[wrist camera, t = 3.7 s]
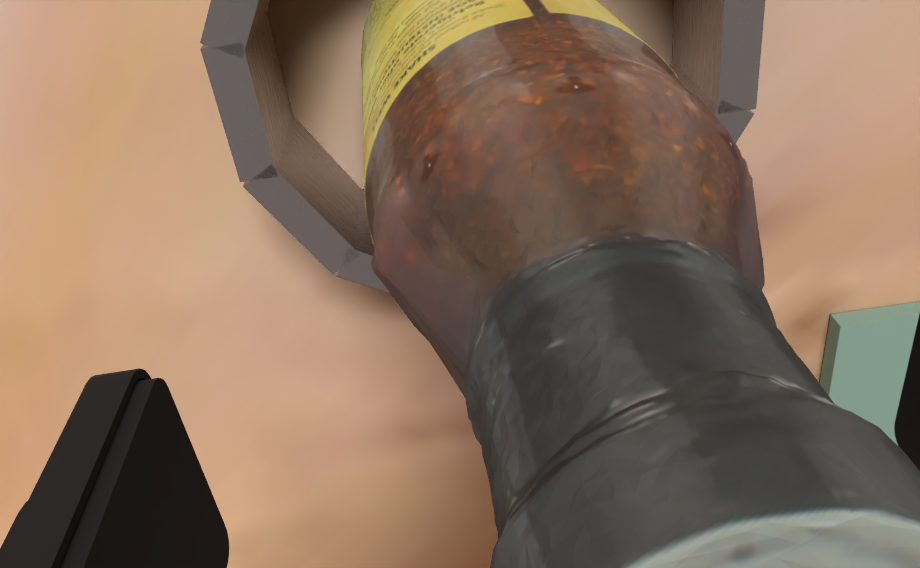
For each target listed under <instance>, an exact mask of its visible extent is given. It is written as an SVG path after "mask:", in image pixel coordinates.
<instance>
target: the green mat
mask: <svg viewBox="0 0 920 568" xmlns="http://www.w3.org/2000/svg"><path fill="white" fill-rule="evenodd" d="M919 314H920V302H914V303H907V304H900V305H893V306H886V307H878V308H871V309H864V310H857V311H850V312H843V313H836V314H830V320H829V326H828V333H827V339H826V345H825V351H824V357H823V364H822V370H821V376H820V382H819V383H820V385H821V386H822V388H823V389H824V390H825V392H826V393H827V394H828V396H829V397H830V398H831V400H832V401H833V402H834V404H835V405H837V406H839V407H841V408H842V409H844V410H848V411H851V412H853V413H854V414H856V415H858V416H860V417H862V418H863V419H865V420H867V421H869V422H870V423H872V424H874V425H876V426H878V427H879V428H881V430H882V431H883V432H884V433H885V434H886V435H887V436H888V437H889V438H890V439H891V440H892V441H894V442H895V443H896V444H897V441H896V437H895V431H894V425H895V419H896V415H897V410H898V406H899V402H900V397H901V393H902V388H903V384H904V380H905V375H906V371H907V367H908V362H909V358H910V353H911V349H912V345H913V340H914V336H915V331H916V327H917V323H918V318H919ZM897 445H898V444H897Z"/></svg>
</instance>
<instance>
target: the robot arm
mask: <svg viewBox="0 0 920 568" xmlns="http://www.w3.org/2000/svg"><path fill="white" fill-rule="evenodd" d="M894 431H895V437H896V441H897V444H898V446H899V447H900V448H901V449H902V450H903V451H904V453H905V454H906V455H907V456H908V457H909V459H910V460H911V461H912V462H913V463H914V464H915V466H916V467H917V468H918V469H919V471H920V314H919V318H918V323H917V327H916V331H915V336H914V340H913V345H912V349H911V353H910V358H909V362H908V367H907V371H906V375H905V380H904V384H903V388H902V393H901V397H900V402H899V406H898V410H897V415H896V419H895V425H894ZM228 557H229V540H228V534H227V530H226V527H225V524H224V522H223V519H222V517H221V515H220V512H219V510H218V507H217V505H216V502H215V500H214V498H213V495H212V493H211V490H210V488H209V485H208V483H207V481H206V478H205V476H204V473H203V471H202V468H201V466H200V463H199V461H198V459H197V456H196V454H195V451H194V449H193V446H192V444H191V442H190V439H189V437H188V434H187V432H186V429H185V427H184V425H183V422H182V420H181V417H180V415H179V412H178V410H177V408H176V405H175V403H174V400H173V398H172V395H171V393H170V391H169V388H168V386H167V384H166V382H165V381H164V380H163V379H161V378H155V379H151V377H150V376H149V374H148V373H147V372H146V371H145V370H143V369H134V370H128V371H121V372H114V373H108V374H101V375H95V376H93V377H91V378H90V379H89V380H88V382H87V383H86V385H85V387H84V389H83V391H82V393H81V395H80V397H79V399H78V401H77V403H76V405H75V407H74V409H73V411H72V413H71V415H70V417H69V419H68V421H67V423H66V425H65V427H64V429H63V431H62V433H61V435H60V437H59V439H58V441H57V444H56V446H55V448H54V450H53V452H52V454H51V456H50V458H49V460H48V462H47V464H46V466H45V468H44V470H43V472H42V474H41V476H40V478H39V480H38V482H37V484H36V486H35V488H34V490H33V492H32V494H31V496H30V498H29V500H28V501H27V502H26V503H25V504H24V506H23V507H22V509H21V510H20V512H19V513H18V515H17V517H16V519H15V521H14V523H13V524H12V526H11V528H10V530H9V532H8V534H7V536H6V538H5V540H4V542H3V544H2V546H1V548H0V568H227V563H228Z"/></svg>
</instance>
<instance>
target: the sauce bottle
mask: <svg viewBox="0 0 920 568" xmlns="http://www.w3.org/2000/svg"><path fill="white" fill-rule="evenodd" d="M361 67H362V106H363V146H364V188H365V208H366V214H367V220H368V225H369V229H370V234H371V238H372V242H373V245H374V255H373V259H372V263H371V265H372V269H373V272H374V273H375V275H376V276H377V277H378V278H379V279H380V280H381V282H382V283H383V284H384V286H385V287H386V288H387V290H388V291H389V292H390V293H391V295H392V296H393V297H394V299H395V300H396V301H397V303H398V304H399V305H400V307H401V308H402V310H403V311H404V312H405V314H406V315H407V317H408V318H409V319H410V321H411V322H412V323H413V325H414V326H415V327H416V328H417V329H418V330H419V331H420V332H421V333H422V334H423V335H424V336H425V337H426V339H427V340H428V341H429V342H430V343H431V345H432V346H433V348H434V349H435V351H436V352H437V354H438V356H439V357H440V359H441V360H442V362H443V363H444V365H445V366H446V368H447V370H448V371H449V373H450V374H451V376H452V377H453V379H454V381H455V382H456V384H457V385H458V387H459V389H460V390H461V392H462V393H463V395H464V397H465V398H466V405H467V411H468V417H469V419H470V421H471V422H472V427H473V431H474V434H475V437H476V439H477V440H478V441H479V443H480V444H481V445H482V454H483V458H484V462H485V466H486V469H487V473H488V478H489V482H490V489H491V496H492V504H493V508H494V514H495V523H496V527H497V530H498V541H497V543H496V545H495V547H494V549H493V555H492V561H491V567H490V568H920V471H919V469H918V468H917V467H916V466H915V464H914V463H913V462H912V461H911V460H910V459H909V457H908V456H907V455H906V454H905V453H904V451H903V450H902V449H901V448H900V447H899V446H898V445H897V444H896V443H895V442H894V441H892V440H891V439H890V438H889V437H888V436H887V435H886V434H885V433H884V432H883V431H882V430H881V428H879V427H878V426H876V425H874V424H872V423H870V422H869V421H867V420H865V419H863V418H862V417H860V416H858V415H856V414H854V413H853V412H851V411H848V410H844V409H842V408H841V407H839V406H837V405H835V404H834V402H833V401H832V400H831V398H830V397H829V396H828V394H827V393H826V392H825V390H824V389H823V388H822V386H821V385H820V383H819V382H818V381H817V379H816V378H815V377H814V375H813V374H812V373H811V371H810V370H809V369H808V368H807V366H806V365H805V364H804V363H803V361H802V360H801V359H800V358H799V357H798V356H797V354H796V353H795V352H794V350H793V349H792V347H791V346H790V345H789V344H788V342H787V341H786V339H785V338H784V336H783V334H782V333H781V331H780V330H779V329H778V328H777V326H776V323H775V320H774V317H773V314H772V311H771V309H770V306H769V304H768V301H767V300H766V298H765V296H764V294H763V292H762V288H763V286H764V268H763V258H762V251H761V245H760V238H759V231H758V223H757V215H756V207H755V199H754V191H753V184H752V177H751V175H750V174H749V171H748V168H747V164H746V161H745V160H744V159H743V158H742V156H741V153H740V151H739V149H738V147H737V145H736V144H735V143H734V141H733V139H732V137H731V135H730V133H729V132H728V131H727V129H726V128H725V127H724V126H723V125H722V124H721V123H720V121H719V120H718V119H717V118H716V117H715V116H714V115H713V114H712V113H711V111H710V110H709V109H708V108H707V107H706V105H705V104H704V103H703V102H702V100H701V99H700V98H699V97H698V96H697V95H695V94H694V93H692V92H690V91H689V90H688V89H687V88H686V87H685V86H683V85H682V84H681V82H680V80H679V79H678V77H677V75H676V74H675V73H674V71H673V70H672V69H671V68H670V66H669V65H668V64H667V63H666V61H665V60H664V59H663V58H662V57H661V56H660V55H659V54H658V53H657V52H656V51H655V50H654V49H652V48H651V47H650V46H649V45H648V44H647V43H646V42H644V41H643V40H642V39H641V38H640V37H639V36H638V35H636V34H635V33H634V32H633V31H632V30H631V29H630V28H628V27H627V26H626V25H625V24H624V23H623V22H622V21H620V20H619V19H618V18H617V17H616V16H615V15H614V14H612V13H611V12H610V11H609V10H608V9H607V8H605V7H604V6H603V5H602V4H601V3H600V2H599V1H597V0H374V2H373V4H372V6H371V8H370V11H369V14H368V17H367V20H366V23H365V26H364V31H363V42H362V54H361Z"/></svg>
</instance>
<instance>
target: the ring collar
mask: <svg viewBox="0 0 920 568" xmlns="http://www.w3.org/2000/svg"><path fill="white" fill-rule="evenodd" d="M269 2H270V0H211V3H210V7H209V11H208V15H207V19H206V23H205V27H204V30H203V34H202V38H201V42H200V43H202V44H204V45H203V46H202V48H201V52H202V56H203V59H204V62H205V66H206V69H207V72H208V76H209V79H210V82H211V86H212V89H213V92H214V96H215V99H216V102H217V106H218V109H219V112H220V116H221V119H222V123H223V126H224V129H225V133H226V136H227V139H228V143H229V146H230V149H231V153H232V156H233V159H234V163H235V166H236V169H237V173H238V176H239V179H240V182H244V181H245V182H244V185H243V187H244V188H245V189H246V190H247V191H248V192H249V193H250V194H251V195H252V196H253V197H254V198H255V199H256V200H257V201H258V202H259V203H260V204H261V205H263V206H264V207H265V208H266V209H267V210H268V211H269V212H270V213H271V214H272V215H273V216H274V217H275V218H276V219H277V220H278V221H279V222H280V223H281V224H282V225H283V226H284V227H285V228H286V229H287V230H288V231H289V232H290V233H291V234H292V235H293V236H294V237H295V238H296V239H297V240H298V241H299V242H300V243H301V244H302V245H303V246H304V247H305V248H307V249H308V250H309V251H310V252H311V253H312V254H313V255H314V256H315V257H316V258H317V259H318V260H319V261H320V262H321V263H322V264H323V265H324V266H325V267H326V268H327V269H328V270H329V271H330V272H331V273H332V274H334V273H335V272H337V271H338V272H337V277H340V278H343V279H346V280H349V281H352V282H356V283H359V284H362V285H365V286H369V287H372V288H375V289H378V290H381V291H385V292H388V293H390V292H389V291H388V290H387V288H386V287H385V286H384V284H383V283H382V282H381V280H380V279H379V278H378V277H377V276H376V275H375V273H374V272H373V269H372V265H371V263H372V259H373V255H374V245H373V242H372V238H371V234H370V229H369V225H368V220H367V214H366V208H365V190H364V189H361V188H359V186H358V185H357V184H356V183H355V182H354V181H353V180H352V179H351V178H350V177H349V176H348V175H347V174H346V172H345V171H344V170H343V169H342V168H341V167H340V166H339V165H338V164H337V163H336V162H335V161H334V160H333V158H332V157H331V156H330V155H329V154H328V153H327V152H326V151H325V150H324V149H323V148H322V147H321V146H320V144H319V143H318V142H317V141H316V140H315V139H314V138H313V137H312V136H311V135H310V134H309V133H308V132H307V130H306V129H305V128H304V127H303V126H302V125H301V124H300V123H299V122H298V121H297V120H296V119H295V118H294V116H293V115H292V111H291V107H290V102H289V98H288V94H287V90H286V86H285V82H284V78H283V74H282V70H281V66H280V62H279V58H278V54H277V50H276V46H275V42H274V38H273V34H272V30H271V25H270V21H269V17H268V13H267V9H268V5H269ZM764 7H765V0H674V14H673V55H672V63H671V65H670V68H671V69H672V70H673V71H674V73H675V74H676V75H677V77H678V79H679V80H680V82H681V84H682V85H683V86H685V87H686V88H687V89H688V90H689V91H690V92H692V93H694V94H695V95H697V96H698V97H699V98H700V99H701V100H702V102H703V103H704V104H705V105H706V107H707V108H708V109H709V110H710V111H711V113H712V114H713V115H714V116H715V117H716V118H717V119H718V120H719V121H720V123H721V124H722V125H723V126H724V127H725V128H726V129H727V131H728V132H729V133H730V135H731V137H732V139H733V141H734V143H736V142H737V140H738V139H739V137H740V135H741V134H742V132H743V131H744V129H745V127H746V126H747V124H748V123H749V121H750V120H751V118H752V116H753V115H754V113H753V112H752V111H751V110H750V109H756V102H757V90H758V78H759V66H760V55H761V43H762V31H763V19H764Z"/></svg>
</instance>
